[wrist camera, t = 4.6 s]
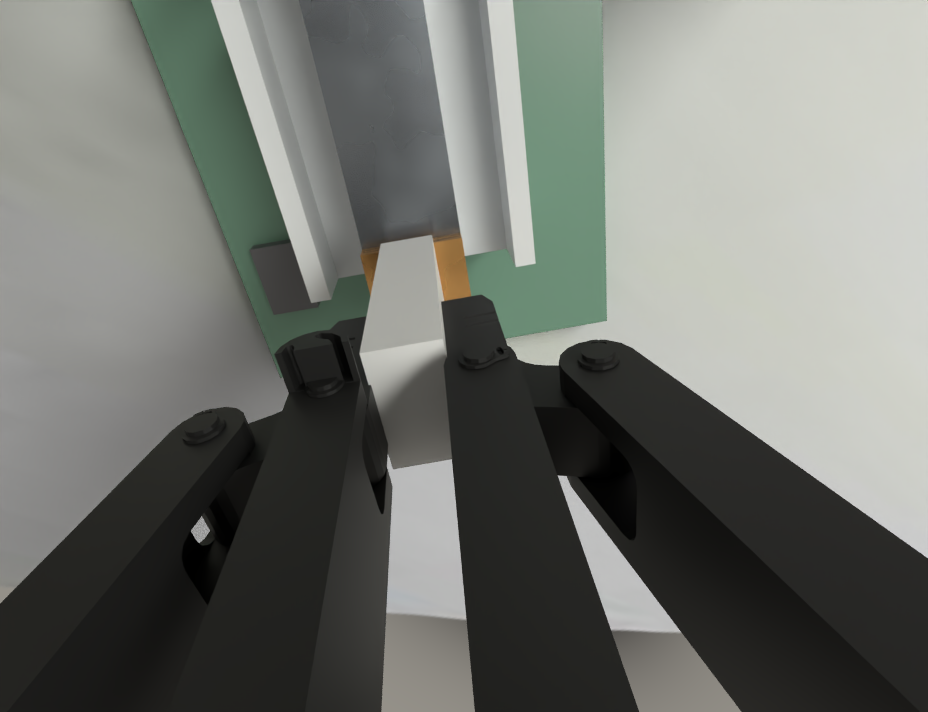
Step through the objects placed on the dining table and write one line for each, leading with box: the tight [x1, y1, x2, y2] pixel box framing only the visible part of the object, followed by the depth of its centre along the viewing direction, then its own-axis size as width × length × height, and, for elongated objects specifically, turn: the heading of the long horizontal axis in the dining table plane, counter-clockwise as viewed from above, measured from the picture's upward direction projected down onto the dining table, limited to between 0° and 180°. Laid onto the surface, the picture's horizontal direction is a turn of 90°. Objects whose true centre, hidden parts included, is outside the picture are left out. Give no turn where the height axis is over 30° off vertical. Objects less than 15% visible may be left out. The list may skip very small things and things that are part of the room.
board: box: [131, 0, 607, 455], centre depth 17 cm, size 20×16×10 cm
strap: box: [299, 0, 471, 301], centre depth 15 cm, size 15×4×2 cm, turn 9°
